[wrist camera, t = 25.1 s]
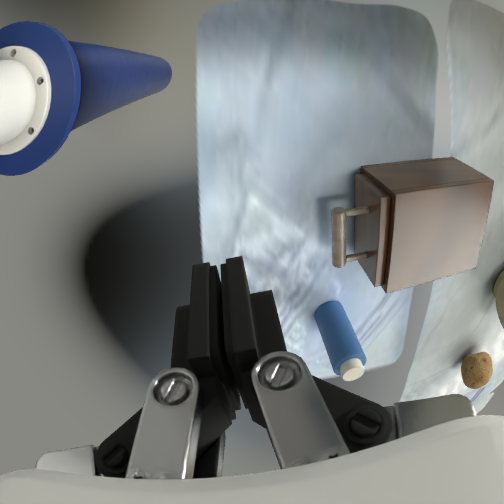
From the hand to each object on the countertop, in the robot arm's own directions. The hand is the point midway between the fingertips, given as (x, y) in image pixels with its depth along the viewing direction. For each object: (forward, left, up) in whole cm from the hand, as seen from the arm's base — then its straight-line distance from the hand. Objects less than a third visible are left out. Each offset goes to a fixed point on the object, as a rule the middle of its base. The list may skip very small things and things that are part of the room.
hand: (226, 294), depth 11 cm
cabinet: (+23, -12, -25) cm, 36 cm away
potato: (+50, -57, -25) cm, 80 cm away
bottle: (+11, -28, -25) cm, 39 cm away
